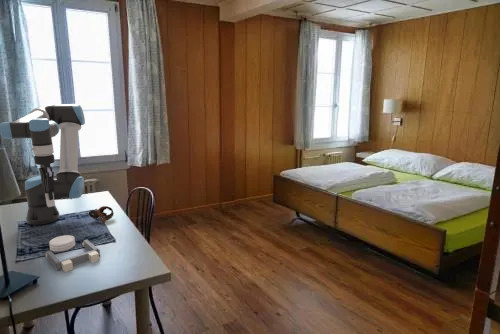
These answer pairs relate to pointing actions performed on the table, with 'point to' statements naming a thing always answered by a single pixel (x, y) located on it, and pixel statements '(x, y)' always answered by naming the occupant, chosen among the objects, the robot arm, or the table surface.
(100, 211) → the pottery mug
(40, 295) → the table surface
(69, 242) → the white round disc
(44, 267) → the table surface
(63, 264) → the grey u-shaped frame
